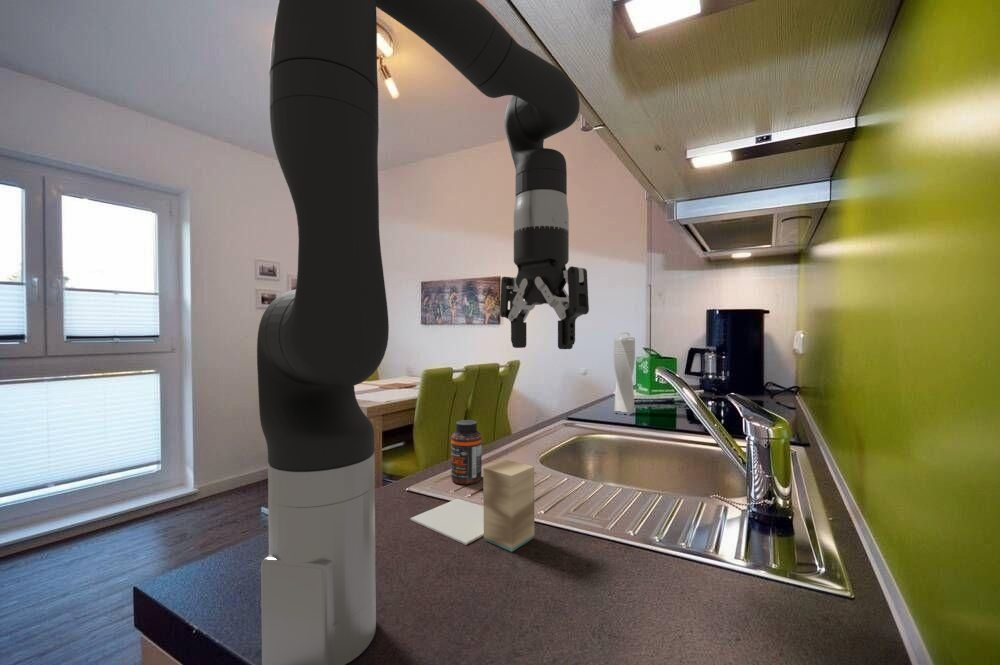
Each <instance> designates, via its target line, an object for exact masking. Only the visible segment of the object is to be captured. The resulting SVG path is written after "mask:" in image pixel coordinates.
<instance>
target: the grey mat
mask: <svg viewBox="0 0 1000 665" xmlns="http://www.w3.org/2000/svg"><path fill="white" fill-rule="evenodd" d="M410 521H411V522H414V523H416V524H418V525H420V526H423V527H425V528H428V529H429V530H432V531H434V532H437V534H440V535H443V536H445V537H447V538H449V539H452V540H453V541H455V542H456V541H457V542H459V543H461V544H462V545H465V546H466V545H469V544H471V543H473V542H474V541H476V540H478V539H480V538H482V537H484V506H480V505H477V504H474V503H471V502H469V501H467V500H463V499H460V498H456V499H453V500H451V501H449V502H448V501H447V502H446V503H443V504H441V505H439V506H437V507H434V508H432V509H429V510H426V511H424V512H422V513H420V514H417V515H415V516H412V517H410Z"/></svg>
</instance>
